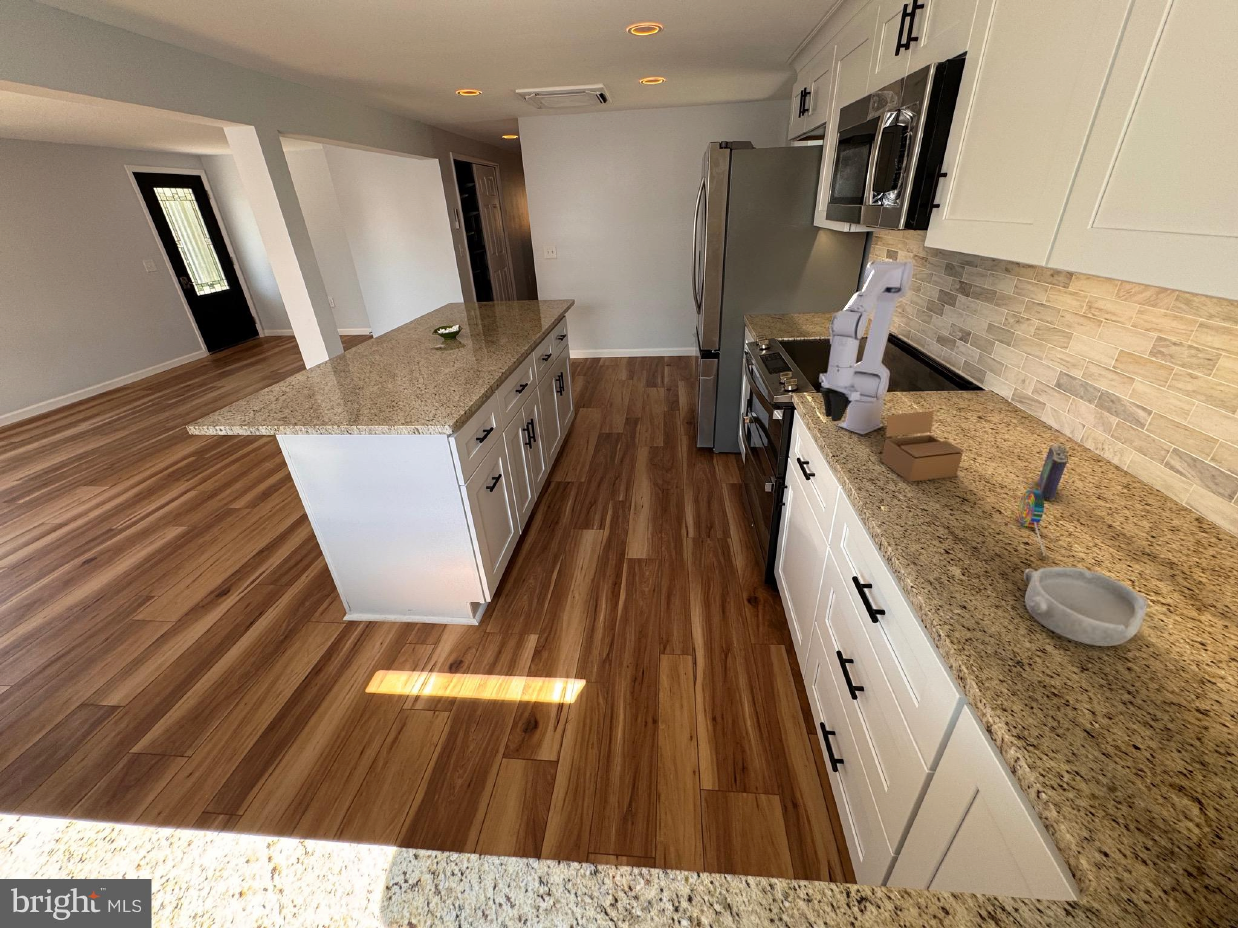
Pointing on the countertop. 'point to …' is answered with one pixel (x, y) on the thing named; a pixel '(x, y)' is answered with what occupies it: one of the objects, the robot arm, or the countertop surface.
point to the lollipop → (1031, 510)
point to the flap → (909, 423)
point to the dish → (1084, 605)
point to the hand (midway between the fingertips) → (833, 418)
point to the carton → (921, 457)
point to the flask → (1052, 471)
